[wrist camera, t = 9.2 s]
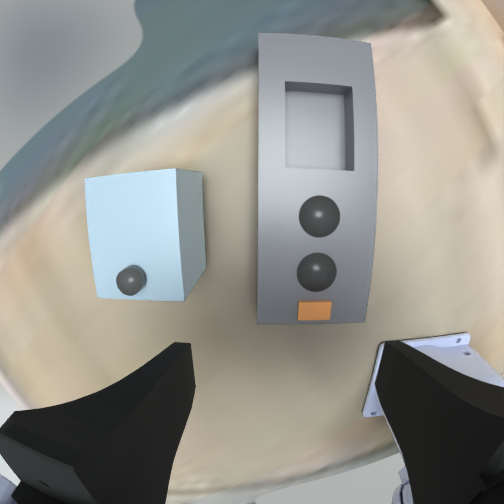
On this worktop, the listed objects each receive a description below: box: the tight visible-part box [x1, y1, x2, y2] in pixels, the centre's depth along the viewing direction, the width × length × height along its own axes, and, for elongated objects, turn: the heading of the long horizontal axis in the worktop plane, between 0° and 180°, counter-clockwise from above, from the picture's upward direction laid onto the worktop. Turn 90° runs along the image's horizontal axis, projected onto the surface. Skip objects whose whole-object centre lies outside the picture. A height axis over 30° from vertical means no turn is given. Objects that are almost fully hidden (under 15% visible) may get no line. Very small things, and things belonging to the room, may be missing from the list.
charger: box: [85, 168, 206, 301], centre depth 16 cm, size 5×6×8 cm
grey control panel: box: [257, 33, 378, 324], centre depth 17 cm, size 7×18×3 cm, turn 0°
